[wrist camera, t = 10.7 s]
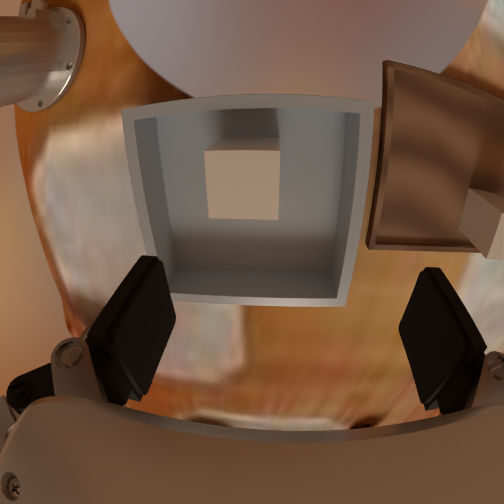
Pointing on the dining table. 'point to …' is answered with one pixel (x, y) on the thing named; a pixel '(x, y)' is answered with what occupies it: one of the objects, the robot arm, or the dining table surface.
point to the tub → (253, 230)
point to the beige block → (243, 177)
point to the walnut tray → (432, 159)
